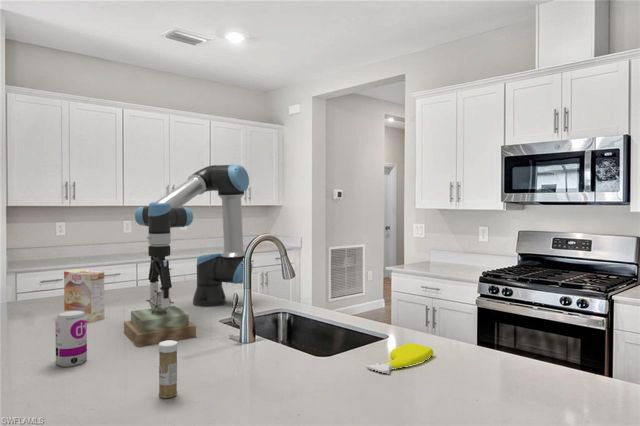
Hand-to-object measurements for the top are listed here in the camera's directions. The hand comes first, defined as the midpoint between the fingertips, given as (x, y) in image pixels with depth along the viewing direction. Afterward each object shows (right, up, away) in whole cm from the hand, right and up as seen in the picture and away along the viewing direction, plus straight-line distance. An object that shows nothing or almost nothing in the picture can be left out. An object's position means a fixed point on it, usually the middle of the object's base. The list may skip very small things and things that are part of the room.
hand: (159, 303), depth 167 cm
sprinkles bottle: (+20, -13, -50) cm, 56 cm away
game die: (0, -4, 0) cm, 4 cm away
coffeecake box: (-38, -11, +21) cm, 45 cm away
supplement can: (-17, -12, -28) cm, 35 cm away
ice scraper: (+83, -14, -25) cm, 88 cm away
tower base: (0, -11, 0) cm, 11 cm away
